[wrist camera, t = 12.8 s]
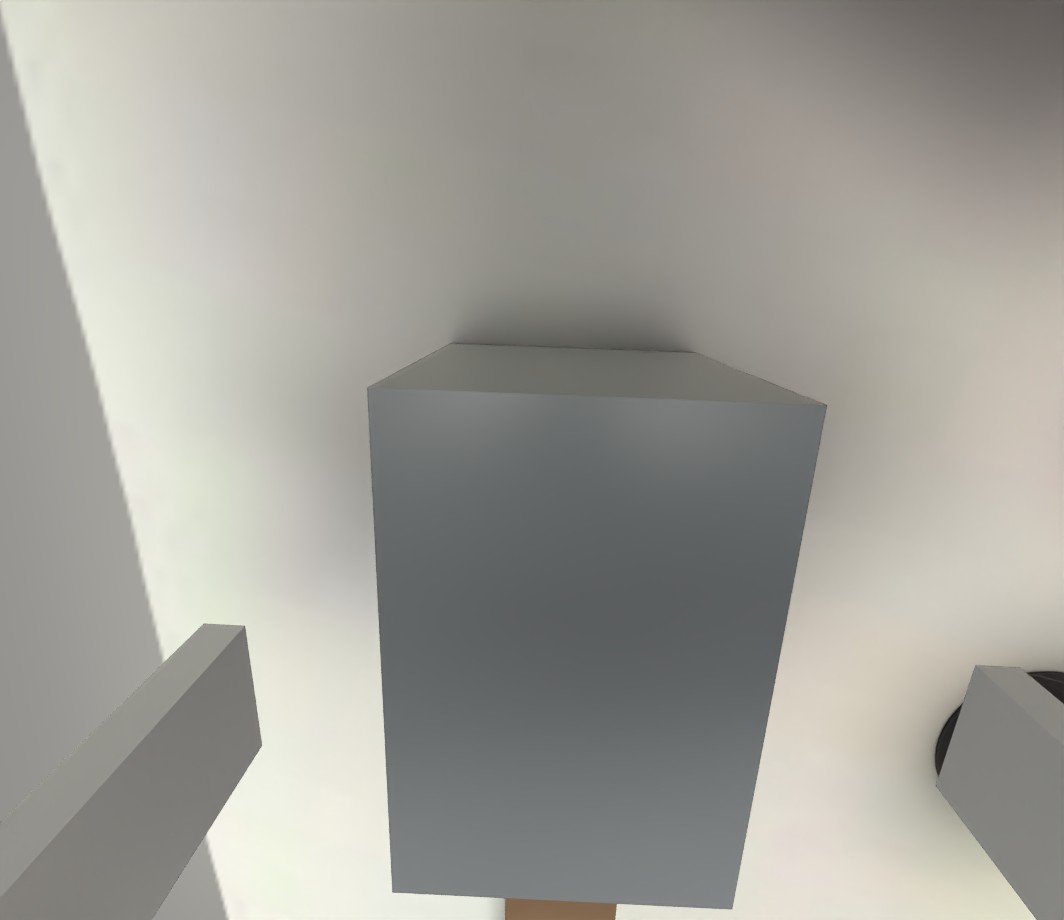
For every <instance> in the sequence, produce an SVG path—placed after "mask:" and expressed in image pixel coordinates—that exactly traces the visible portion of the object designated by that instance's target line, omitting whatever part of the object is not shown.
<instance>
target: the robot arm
mask: <svg viewBox="0 0 1064 920" xmlns="http://www.w3.org/2000/svg"><path fill="white" fill-rule="evenodd" d="M261 746H262V742H261V735H260V728H259V721H258V714H257V707H256V700H255V693H254V686H253V679H252V672H251V665H250V658H249V651H248V644H247V637H246V630H245V626H238V625H220V624H203V625H202V626H201V627H200V628H199V629H198V630H197V631H196V632H195V633H194V634H193V635H192V636H191V637H190V638H189V639H188V640H187V641H186V642H185V643H184V644H183V645H182V646H181V647H179V648H178V649H177V650H176V651H175V652H174V653H173V654H172V655H171V656H170V657H169V658H168V659H167V660H166V661H165V662H164V663H163V664H162V665H161V666H160V667H159V668H158V669H157V670H156V671H155V672H154V673H153V674H152V675H151V676H150V677H149V678H148V679H147V680H146V681H145V682H144V683H143V684H142V685H141V686H140V687H138V689H137V690H135V691H134V692H133V693H132V694H131V695H130V696H129V697H128V698H127V699H126V700H125V701H124V702H123V703H122V704H121V705H120V706H119V707H118V708H117V709H116V710H115V711H114V712H113V713H112V714H111V715H110V716H109V717H108V718H107V719H106V720H105V721H104V722H103V723H102V724H101V725H100V726H99V727H98V728H97V729H95V730H94V731H93V732H92V733H91V734H90V735H89V736H88V737H87V738H86V739H85V740H84V741H83V742H82V743H81V744H80V745H79V746H78V747H77V748H76V749H75V750H74V751H73V752H72V753H71V754H70V755H69V756H68V757H67V758H66V759H65V760H64V761H63V762H62V763H61V764H60V765H59V766H58V767H57V768H56V769H55V770H53V771H52V772H51V773H50V774H49V775H48V776H47V777H46V778H45V779H44V780H43V781H42V782H41V783H40V784H39V785H38V786H37V787H36V788H35V789H34V790H33V791H32V792H31V793H30V794H29V795H28V796H27V797H26V798H25V799H24V800H23V801H22V802H21V803H20V804H19V805H18V806H17V807H16V808H14V809H13V810H12V811H11V812H10V813H9V814H8V815H7V816H6V817H5V818H4V819H3V820H2V821H1V822H0V920H152V919H153V917H154V916H155V914H156V913H157V911H158V909H159V908H160V906H161V905H162V903H163V901H164V900H165V898H166V897H167V895H168V894H169V892H170V890H171V889H172V887H173V886H174V884H175V882H176V881H177V879H178V878H179V876H180V874H181V873H182V871H183V870H184V868H185V867H186V865H187V863H188V862H189V860H190V858H191V857H192V855H193V854H194V852H195V851H196V849H197V847H198V846H199V844H200V843H201V841H202V840H203V838H204V837H205V835H206V833H207V832H208V830H209V829H210V827H211V825H212V824H213V822H214V821H215V819H216V818H217V816H218V814H219V813H220V811H221V810H222V808H223V806H224V805H225V803H226V802H227V800H228V799H229V797H230V795H231V794H232V792H233V791H234V789H235V787H236V786H237V784H238V783H239V781H240V780H241V778H242V776H243V775H244V773H245V772H246V770H247V768H248V767H249V765H250V764H251V762H252V761H253V759H254V757H255V756H256V754H257V753H258V751H259V749H260V748H261ZM936 787H937V788H938V789H939V791H940V792H941V793H942V795H943V796H944V797H945V799H946V800H947V801H948V803H949V804H950V805H951V806H952V808H953V809H954V810H955V812H956V813H957V814H958V816H959V817H960V818H961V820H962V821H963V822H964V824H965V825H966V826H967V828H968V829H969V830H970V832H971V833H972V834H973V836H974V837H975V838H976V840H977V841H978V842H979V844H980V845H981V846H982V848H983V849H984V850H985V852H986V853H987V854H988V856H989V857H990V858H991V860H992V861H993V862H994V864H995V865H996V866H997V868H998V869H999V870H1000V872H1001V873H1002V874H1003V876H1004V877H1005V878H1006V880H1007V881H1008V882H1009V884H1010V885H1011V886H1012V888H1013V889H1014V890H1015V892H1016V893H1017V894H1018V896H1019V897H1020V898H1021V900H1022V901H1023V902H1024V904H1025V905H1026V906H1027V908H1028V909H1029V910H1030V912H1031V913H1032V914H1033V915H1034V917H1035V918H1036V919H1037V920H1064V704H1063V703H1062V702H1061V701H1059V700H1058V699H1057V698H1056V697H1055V696H1053V695H1052V694H1051V693H1050V692H1049V691H1047V690H1046V689H1045V688H1044V687H1043V686H1041V685H1040V684H1039V683H1038V682H1037V681H1035V680H1034V679H1033V678H1032V677H1031V676H1029V675H1028V674H1027V673H1026V672H1025V671H1023V670H1022V669H1021V668H1020V667H1001V666H983V665H975V668H974V671H973V674H972V677H971V680H970V683H969V687H968V690H967V693H966V696H965V699H964V702H963V705H962V708H961V711H960V714H959V717H958V720H957V723H956V726H955V729H954V732H953V735H952V738H951V741H950V744H949V747H948V750H947V753H946V756H945V759H944V762H943V765H942V768H941V772H940V775H939V778H938V781H937V784H936Z"/></svg>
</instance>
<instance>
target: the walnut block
mask: <svg viewBox="0 0 1064 920" xmlns="http://www.w3.org/2000/svg"><path fill="white" fill-rule="evenodd" d="M616 905H617V904H614V903H594V902H574V901H554V900H534V899H514V898H506V900H505V920H615V915H616Z"/></svg>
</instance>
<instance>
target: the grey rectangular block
mask: <svg viewBox="0 0 1064 920" xmlns="http://www.w3.org/2000/svg"><path fill="white" fill-rule="evenodd" d="M367 392H368V412H369V432H370V452H371V472H372V492H373V512H374V532H375V552H376V572H377V592H378V613H379V633H380V653H381V673H382V693H383V713H384V733H385V753H386V773H387V793H388V813H389V833H390V853H391V873H392V892H394V893H414V894H434V895H454V896H474V897H494V898H514V899H534V900H554V901H574V902H594V903H614V904H634V905H654V906H674V907H694V908H714V909H732V907H733V902H734V897H735V891H736V886H737V881H738V875H739V870H740V865H741V859H742V854H743V849H744V843H745V838H746V833H747V827H748V822H749V817H750V812H751V806H752V801H753V796H754V790H755V785H756V780H757V774H758V769H759V764H760V758H761V753H762V748H763V742H764V737H765V732H766V726H767V721H768V716H769V710H770V705H771V700H772V695H773V689H774V684H775V679H776V673H777V668H778V663H779V657H780V652H781V647H782V641H783V636H784V631H785V625H786V620H787V615H788V609H789V604H790V599H791V594H792V588H793V583H794V578H795V572H796V567H797V562H798V556H799V551H800V546H801V540H802V535H803V530H804V524H805V519H806V514H807V508H808V503H809V498H810V492H811V487H812V482H813V477H814V471H815V466H816V461H817V455H818V450H819V445H820V439H821V434H822V429H823V423H824V418H825V413H826V407H827V405H825V404H822V403H820V402H817V401H815V400H812V399H810V398H807V397H805V396H802V395H800V394H797V393H795V392H792V391H790V390H787V389H785V388H782V387H780V386H777V385H775V384H772V383H770V382H767V381H765V380H762V379H760V378H757V377H755V376H752V375H750V374H747V373H745V372H742V371H740V370H737V369H735V368H732V367H730V366H727V365H725V364H722V363H720V362H717V361H715V360H712V359H710V358H707V357H705V356H702V355H700V354H697V353H695V352H669V351H642V350H615V349H589V348H562V347H535V346H508V345H482V344H455V343H451V344H449V345H447V346H445V347H443V348H441V349H439V350H437V351H435V352H434V353H432V354H430V355H428V356H426V357H424V358H422V359H420V360H418V361H417V362H415V363H413V364H411V365H409V366H407V367H405V368H403V369H402V370H400V371H398V372H396V373H394V374H392V375H390V376H388V377H386V378H385V379H383V380H381V381H379V382H377V383H375V384H373V385H371V386H369V387H368V388H367Z"/></svg>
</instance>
